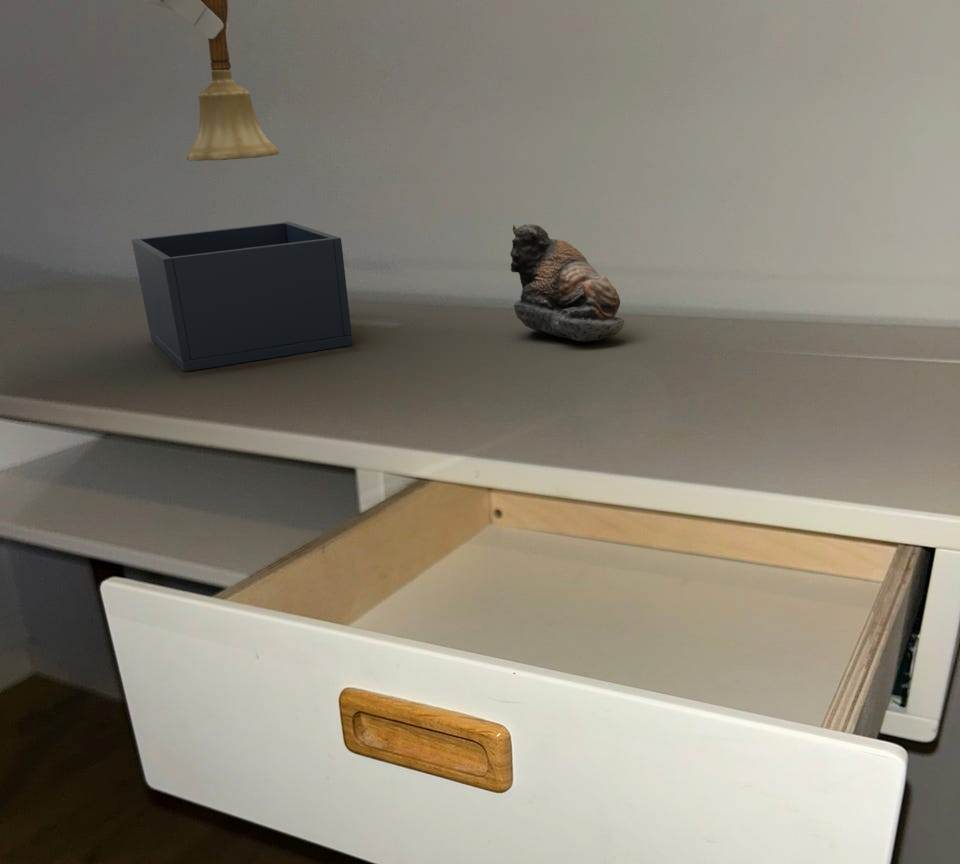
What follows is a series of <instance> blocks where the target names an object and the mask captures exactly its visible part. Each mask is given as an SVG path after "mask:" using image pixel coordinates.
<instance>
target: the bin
mask: <svg viewBox="0 0 960 864" xmlns="http://www.w3.org/2000/svg"><path fill="white" fill-rule="evenodd" d="M131 244H132V249H133V254H134V259H135V265H136V270H137V274H138V279H139V284H140V290H141V294H142V299H143V305H144V309H145V315H146V319H147V320H146V321H147V324H148V329H149V335H150V339H151V341H152V342H153V343H154V344H155V345H156V346H158V348H159V349H160V350H162V352H164V354H165V355H167V356H168V358H170V360H171V361H173V362H174V364H176V365H177V366H178V367H179V368H180V369H181V371H183V372H184V373H188V372H194V371H200V370H205V369H206V370H207V369H213V368H219V367H225V366H232V365H237V364H244V363H249V362H250V363H251V362H257V361H262V360H269V359H274V358H275V359H276V358H281V357H289V356H294V355H301V354H306V353H313V352H320V351H326V350H332V349H339V348H344V347H351V346H353V345H354V343H353V335H352V334H353V333H352V332H353V331H352V324H351V315H350V306H349V298H348V289H347V287H348V286H347V279H346V270H345V262H344V253H343V252H344V251H343V242H342V238H341V237H339V236H336V235H333V234H331V233H330V234H329V233H326V232H323V231H320V230H317V229H314V228H311V227H308V226H305V225H303V224H302V225H301V224H298V223H296V222H292V221H284V222H282V221H281V222H274V223H266V224H256V225H246V226H239V227H230V228H221V229H220V228H219V229H213V230H206V231H205V230H204V231H195V232H194V231H193V232H186V233H177V234H167V235H159V236H150V237H142V238H133V239H131Z"/></svg>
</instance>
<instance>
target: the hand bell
mask: <svg viewBox="0 0 960 864" xmlns="http://www.w3.org/2000/svg"><path fill="white" fill-rule="evenodd" d="M201 1H202V2H203V3H204V4H205V5H206V6H207V7H208V8H209V9H210V10H211V11H212V12H213V13H214V14H215V15H216V16H218V17H219V18H220V19H221V20H222V21H223V24H224V27H223V29H222V31H221V32H220V34H219V35H218V37H217V38H216V39H209V38H207V39H208V40H207V41H208V48H209V49H208V50H209V59H210V69H211V82H210V84H209V85H207V87H205V88H204V89H202V90H201V91H200V92H199V95H198V102H199V103H198V104H199V117H198V118H199V119H198V120H199V121H198V130H197V134H196V138H195V140H194V143H193V145H192V147H191V148H190V149H189V150H188V152H187V155H186V160H187V161H196V162H201V161H227V160H228V161H229V160H240V159H241V160H242V159H256V158H265V157H271V156H277V155H279V153H280V151H279V150H278V148H277V146H276V145H275V144H273V143H272V142H271V141H270V140H269V139H268V137H267V136H266V134H265V132H264V131H263V130H262V128H261V126H260V124H259V123H260V122H259V121H258V119H257V116H256V112H255V109H254V106H253V103H252V98H251V93H250V91H249V90H248V89H247V88H244V87H243V86H241V85H239V84H238V83H236V82H235V81H234V80H233V76H232V71H231V67H232V65H231V62H230V54H229V47H228V42H227V32H226V24H228V14H229V12H228V11H229V10H228V9H229V8H228V0H201Z"/></svg>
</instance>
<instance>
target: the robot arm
mask: <svg viewBox="0 0 960 864" xmlns="http://www.w3.org/2000/svg"><path fill="white" fill-rule="evenodd" d="M143 1H144V2H146V3H150V4H152V5H156V6H159V7H162V8H164V9H167V10H171V11H174V12H175V13H176V14H178V15H179V16H180V17H182V18H183V19H185V20H186V21H188V22H189V23H190V24H191V25H192V26H194V27H195V28H196V29H197V30H198V31H200V32H201V33H202V34H203V35H204V36H205V37H206V38H207V39H208V38H209V39H216V38H217V37H218V35H219V34H220V32H221V31H222V29H223V27H224V24H223V21H222V20H221V19H220V18H219V17H218V16H216V15H215V14H214V13H213V12H212V11H211V10H210V9H209V8H208V7H207V6H206V5H205V4H204V3H203V2H202V1H201V0H143ZM228 31H229V24H228V23H227V24H226V33H227V32H228Z"/></svg>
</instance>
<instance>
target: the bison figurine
mask: <svg viewBox="0 0 960 864" xmlns="http://www.w3.org/2000/svg"><path fill="white" fill-rule="evenodd" d="M512 232H513V235H515V236H514V238H513V239H512V240H511V243H512V248H511V250H510V252H509V253H510V254H509V255H510V257H511V263H510V271H511V273H516V274H517V273H518V275H519V280H520V284H521V287H522V289H521V294H520V299H519V300H518V301H516V302H515V303H514V304H513V309H514V311H515V315H516V317H517V319H518V320H520V321H521V322H522V324H523V325H524V326H526V327H527V328H529V329H532V330H535V331H539V332H541V333H544V334H547V335H551V336H554V337H559V338H562V339H566V340H567V339H568V340H572V341H576V342H581V343H583V342H584V343H590V342H592V343H593V342H598V341H602V340H604V339H606V338H610V337H612V336H615V335H617V334H618V333H619V332H620V331H621V330H622V329H623V328H624V325H625V320H624V319H623V318H621V317H619V316H618V317H617V316H616V315H617V313H618V312H619V308H620V306H621V299H620V295H619V294H618V291H617V289H616V288H615V286H614V285H613V284H612V283H611V281H610V279H609V278H608V277H607V276H606V275H605V276H604V275H600V274H599V272H598V271H597V270H596V269H595V268H594V267H593V266H592V265H591V264H590V263H589V262H588V260H587V258H586V257H585V256H584V255H583V253H582V252H581V251H580V250H579V249H578V248H577V247H575V246H573V245H572V244H570V243H569V242H567V241H566V240H563V239H561V238H557V239H555V238H552V239H551V238H550V237H549V234H548V232H547V231H546V230H545V229H544V228H543V227H542V226H540V225H538V224H531V223H530V224H523V225H521V226H518V228H517V227H516V225H515V224H513V225H512Z"/></svg>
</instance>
